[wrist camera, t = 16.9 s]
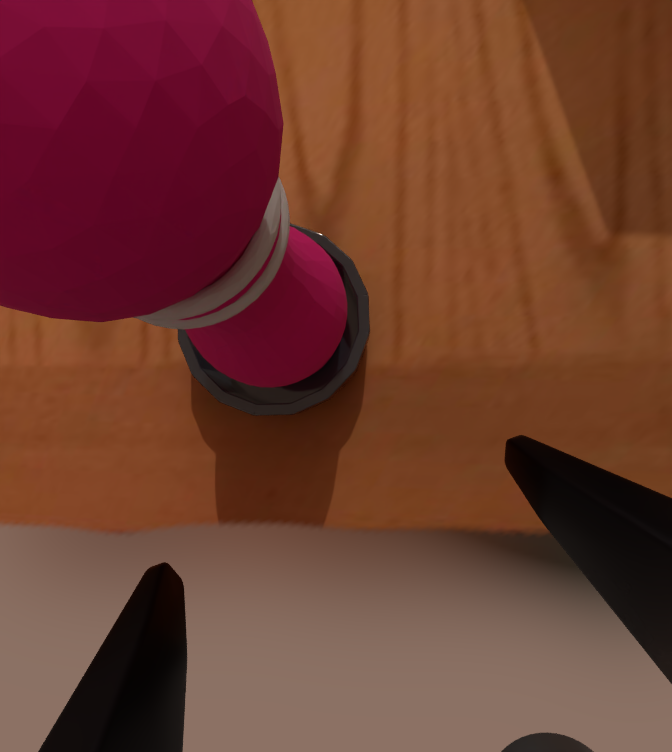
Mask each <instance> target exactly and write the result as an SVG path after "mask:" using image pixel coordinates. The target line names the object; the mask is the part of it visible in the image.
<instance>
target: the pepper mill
mask: <svg viewBox="0 0 672 752" xmlns="http://www.w3.org/2000/svg"><path fill="white" fill-rule="evenodd" d="M282 133H283V118H282V112H281V105H280V99H279V92H278V86H277V79H276V73H275V69H274V65H273V61H272V57H271V52H270V48H269V44H268V41H267V38H266V36H265V33H264V31H263V28H262V25H261V23H260V20H259V18H258V15H257V12H256V10H255V7H254V5H253V2H252V0H0V305H1V306H4V307H7V308H11V309H16V310H20V311H24V312H28V313H33V314H37V315H41V316H45V317H49V318H57V319H69V320H82V321H94V322H106V321H112V320H118V319H124V318H131V317H134V318H138V319H140V320H142V321H144V322H147V323H150V324H153V325H156V326H160V327H165V328H172V329H183V330H184V329H185V330H186V333H187V334H188V336H189V338H190V339H191V341H192V343H193V344H194V346H195V347H196V348H197V350H198V351H199V352H200V354H201V355H202V356H203V358H204V359H205V360H207V361H208V362H209V363H210V364H211V365H212V366H213V367H214V368H215V369H216V370H218V371H219V372H221V373H223V374H225V375H226V376H228V377H230V378H232V379H234V380H237V381H239V382H242V383H245V384H248V385H251V386H257V387H280V386H286V385H289V384H293V383H296V382H298V381H301V380H303V379H305V378H307V377H309V376H310V375H312V374H314V373H316V372H317V371H319V370H320V369H321V368H322V367H323V366H324V365H325V364H326V363H327V362H328V361H329V359H330V358H331V357H332V355H333V354H334V352H335V350H336V348H337V346H338V345H339V343H340V341H341V338H342V336H343V333H344V330H345V326H346V320H347V298H346V291H345V288H344V285H343V282H342V279H341V276H340V274H339V272H338V270H337V267H336V266H335V264H334V262H333V261H332V259H331V258H330V256H329V255H328V254H327V253H326V252H325V250H324V249H323V248H322V247H321V246H319V245H318V244H317V243H316V242H315V241H313V240H312V239H311V238H310V237H308V236H307V235H305V234H304V233H302V232H300V231H298V230H297V229H295V228H293V227H291V226H290V216H289V208H288V202H287V198H286V194H285V191H284V188H283V186H282V183H281V180H280V179H279V177H278V174H279V164H280V154H281V143H282Z"/></svg>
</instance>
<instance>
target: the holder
mask: <svg viewBox="0 0 672 752" xmlns="http://www.w3.org/2000/svg"><path fill="white" fill-rule="evenodd" d="M290 226H291V227H293V228H295V229H297V230H298V231H300V232H302V233H304V234H305V235H307V236H308V237H310V238H311V239H312V240H313V241H315V242H316V243H317V244H318V245H319V246H321V247H322V248H323V249H324V250H325V252H326V253H327V254H328V255H329V256H330V258H331V259H332V261H333V262H334V264H335V266H336V267H337V270H338V272H339V274H340V276H341V279H342V282H343V285H344V288H345V291H346V298H347V320H346V326H345V330H344V333H343V336H342V338H341V341H340V343H339V345H338V346H337V348H336V350H335V352H334V354H333V355H332V357H331V358H330V359H329V361H328V362H327V363H326V364H325V365H324V366H323V367H322V368H321V369H320V370H319V371H317V372H316V373H314V374H312V375H310V376H309V377H307V378H305V379H303V380H301V381H298V382H296V383H293V384H289V385H286V386H280V387H257V386H251V385H248V384H245V383H242V382H239V381H237V380H234V379H232V378H230V377H228V376H226V375H225V374H223V373H221V372H219V371H218V370H216V369H215V368H214V367H213V366H212V365H211V364H210V363H209V362H208V361H207V360H205V359H204V358H203V356H202V355H201V354H200V352H199V351H198V350H197V348H196V347H195V346H194V344H193V343H192V341H191V339H190V338H189V336H188V334H187V333H186V330H185V329H184V330H183V329H178V340H179V341H178V342H179V344H180V347H181V349H182V352H183V354H184V356H185V359H186V361H187V364H188V366H189V369H190V371H191V373H192V375H193V376H194V377H195V378H196V379H197V380H198V381H199V382H200V383H201V384H202V385H203V386H204V387H205V388H206V389H207V390H208V391H209V392H210V393H211V394H212V395H213V396H214V397H215V398H216V399H217V400H218V401H219V402H221V403H224V404H226V405H229V406H231V407H234V408H236V409H239V410H241V411H244V412H246V413H249V414H251V415H256V416H259V415H292V414H297V413H301V412H303V411H305V410H307V409H310V408H312V407H314V406H317V405H319V404H321V403H323V402H325V401H327V400H330V399H331V398H333V397H334V396H335V394H336V393H337V392H338V391H339V390H340V389H341V388H343V387H344V386H345V384H346V383H347V382H348V381H349V380H350V379H351V377H352V376H353V375H354V374H355V373H356V371H357V369H358V366H359V364H360V361H361V359H362V357H363V353H364V351H365V348H366V345H367V343H368V340H369V333H370V325H369V296H368V292H367V290H366V288H365V286H364V284H363V282H362V280H361V277H360V275H359V273H358V271H357V269H356V267H355V265H354V262H353V261H352V260H351V258H349V257H348V256H347V255H346V254H345V253H344V252H343V251H342V250H341V249H339V248H338V247H337V246H336V245H335V244H334V243H333V242H332V241H330V240H329V239H328V238H327V237H326V236H324V235H323V234H320V233H317V232H314V231H311V230H308V229H305V228H302V227H299V226H296V225H294V224H291V223H290Z"/></svg>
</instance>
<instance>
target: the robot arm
mask: <svg viewBox="0 0 672 752" xmlns="http://www.w3.org/2000/svg"><path fill="white" fill-rule="evenodd" d="M505 465H506V467H507V469H508V471H509V472H510V474H511V475H512V477H513V478H514V480H515V482H516V483H517V485H518V486H519V488H520V489H521V491H522V492H523V494H524V495H525V497H526V499H527V500H528V502H529V503H530V505H531V506H532V508H533V509H534V511H535V512H536V514H537V515H538V517H539V518H540V520H541V521H542V522H543V524H544V525H545V526H546V528H547V529H548V530H549V531H550V533H551V534H552V535H553V536H554V538H555V539H556V540H557V541H558V542H559V544H560V545H561V546H562V547H563V549H564V550H565V551H566V553H567V554H568V555H569V556H570V557H571V559H572V560H573V561H574V563H575V564H576V565H577V566H578V568H579V569H580V570H581V571H582V572H583V574H584V575H585V576H586V578H587V579H588V580H589V581H590V582H591V584H592V585H593V586H594V587H595V589H596V590H597V591H598V592H599V594H600V595H601V596H602V597H603V599H604V600H605V601H606V602H607V604H608V605H609V606H610V608H611V609H612V610H613V611H614V612H615V614H616V615H617V616H618V617H619V619H620V620H621V621H622V622H623V624H624V625H625V626H626V627H627V629H628V630H629V631H630V633H631V634H632V635H633V636H634V637H635V639H636V640H637V641H638V642H639V644H640V645H641V646H642V647H643V649H644V650H645V651H646V652H647V654H648V655H649V656H650V657H651V659H652V660H653V661H654V662H655V664H656V665H657V666H658V668H659V669H660V670H661V671H662V672H663V674H664V675H665V676H666V677H667V679H668V680H669V681H670V682H671V684H672V498H670V497H667V496H665V495H663V494H660V493H658V492H656V491H653V490H651V489H649V488H646V487H644V486H642V485H639V484H637V483H635V482H632V481H630V480H628V479H625V478H623V477H620V476H618V475H616V474H613V473H611V472H609V471H606V470H604V469H602V468H599V467H597V466H595V465H592V464H590V463H588V462H585V461H583V460H581V459H578V458H576V457H573V456H571V455H569V454H566V453H564V452H562V451H559V450H557V449H555V448H552V447H550V446H548V445H545V444H543V443H541V442H538V441H536V440H534V439H531V438H529V437H526V436H523V435H519V436H516V437H513V438H510V439H508V440H507V442H506V449H505ZM186 673H187V639H186V619H185V600H184V586H183V582H182V579H181V578H180V577H179V575H178V574H177V573H176V572H175V571H174V570H173V568H172V567H171V566H170V565H169V564H168V563H165V562H164V563H161V564H158V565H155V566H152V567H150V568H149V569H148V570H147V571H146V572H145V573H144V575H143V577H142V578H141V580H140V582H139V584H138V585H137V587H136V589H135V590H134V592H133V594H132V595H131V597H130V599H129V600H128V602H127V604H126V605H125V607H124V609H123V610H122V612H121V614H120V615H119V617H118V619H117V621H116V622H115V624H114V626H113V627H112V629H111V630H110V632H109V634H108V636H107V637H106V639H105V641H104V642H103V644H102V646H101V647H100V649H99V651H98V652H97V654H96V656H95V657H94V659H93V661H92V662H91V664H90V666H89V667H88V669H87V671H86V673H85V674H84V676H83V677H82V679H81V681H80V682H79V684H78V686H77V688H76V689H75V691H74V693H73V694H72V696H71V698H70V699H69V701H68V703H67V704H66V706H65V708H64V709H63V711H62V713H61V714H60V716H59V718H58V719H57V721H56V723H55V724H54V726H53V728H52V730H51V731H50V733H49V735H48V736H47V738H46V740H45V742H44V743H43V745H42V746H41V748H40V750H39V751H38V752H182V750H183V731H184V712H185V692H186Z"/></svg>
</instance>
